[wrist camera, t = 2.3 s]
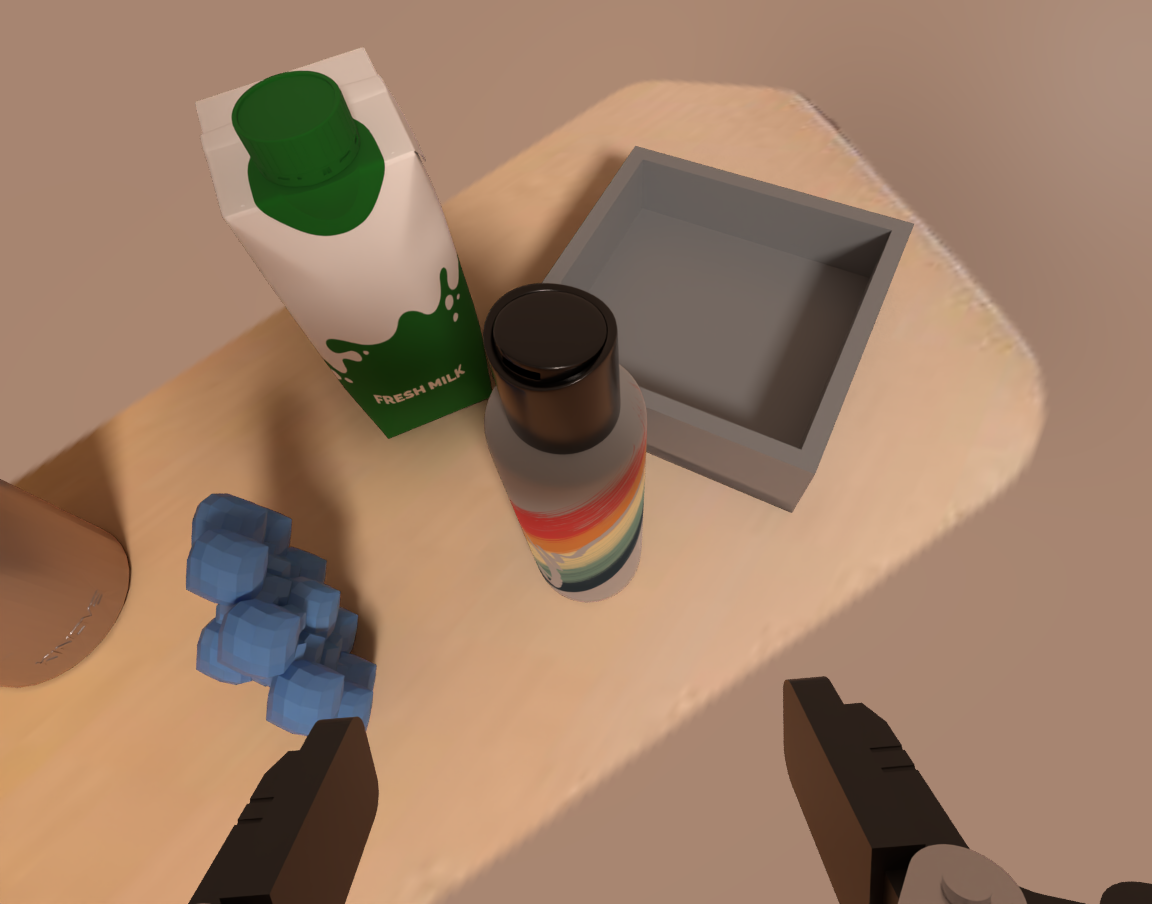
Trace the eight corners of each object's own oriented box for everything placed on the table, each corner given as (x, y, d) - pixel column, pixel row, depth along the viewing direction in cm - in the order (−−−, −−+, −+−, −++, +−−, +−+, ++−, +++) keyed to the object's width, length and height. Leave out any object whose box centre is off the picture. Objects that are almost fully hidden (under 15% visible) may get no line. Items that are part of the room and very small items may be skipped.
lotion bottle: (517, 571, 35) (404, 355, 18) (572, 488, 37) (519, 219, 20) (607, 624, 34) (582, 446, 16) (659, 535, 36) (689, 287, 18)
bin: (511, 395, 41) (497, 347, 36) (634, 205, 47) (635, 145, 43) (791, 512, 36) (814, 474, 31) (884, 282, 42) (914, 223, 38)
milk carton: (378, 457, 39) (171, 187, 22) (342, 348, 43) (143, 45, 26) (512, 402, 40) (420, 102, 23) (465, 301, 44) (355, -21, 27)
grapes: (234, 591, 36) (68, 509, 25) (347, 531, 37) (233, 430, 27) (298, 797, 31) (125, 804, 20) (426, 721, 32) (326, 690, 22)
